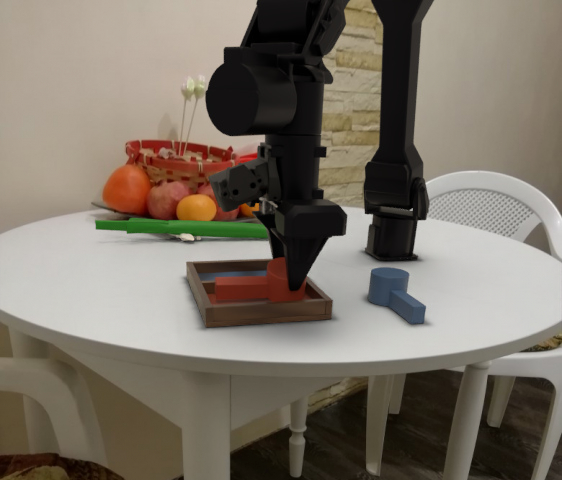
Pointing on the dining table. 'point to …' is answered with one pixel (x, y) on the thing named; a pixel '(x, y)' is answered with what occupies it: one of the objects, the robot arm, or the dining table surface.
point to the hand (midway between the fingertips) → (287, 283)
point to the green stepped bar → (186, 228)
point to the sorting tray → (250, 310)
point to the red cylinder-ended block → (260, 285)
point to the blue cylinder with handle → (395, 293)
